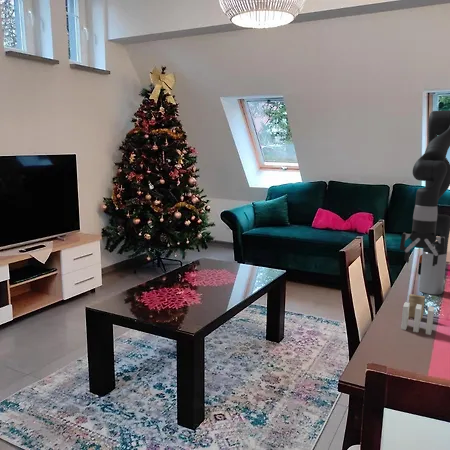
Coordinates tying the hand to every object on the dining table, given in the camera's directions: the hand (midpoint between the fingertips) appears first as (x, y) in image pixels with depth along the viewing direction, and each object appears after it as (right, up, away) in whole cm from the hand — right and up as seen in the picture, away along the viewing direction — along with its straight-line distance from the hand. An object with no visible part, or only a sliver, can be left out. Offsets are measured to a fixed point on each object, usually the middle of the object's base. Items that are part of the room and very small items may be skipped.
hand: (420, 264), depth 159 cm
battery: (+28, -10, +62) cm, 69 cm away
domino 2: (0, -19, +3) cm, 20 cm away
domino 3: (-5, -21, -8) cm, 23 cm away
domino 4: (-1, -22, -10) cm, 24 cm away
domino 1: (-8, -21, -6) cm, 23 cm away
